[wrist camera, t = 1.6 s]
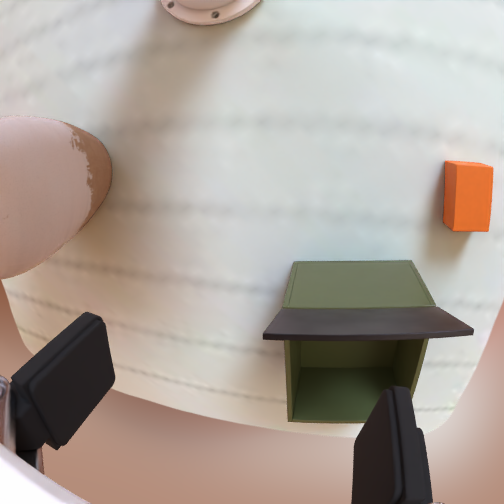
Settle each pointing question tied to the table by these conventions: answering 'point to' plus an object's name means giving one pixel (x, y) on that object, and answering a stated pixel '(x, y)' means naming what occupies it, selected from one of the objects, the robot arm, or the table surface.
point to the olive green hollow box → (350, 352)
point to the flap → (365, 324)
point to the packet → (467, 196)
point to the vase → (46, 188)
